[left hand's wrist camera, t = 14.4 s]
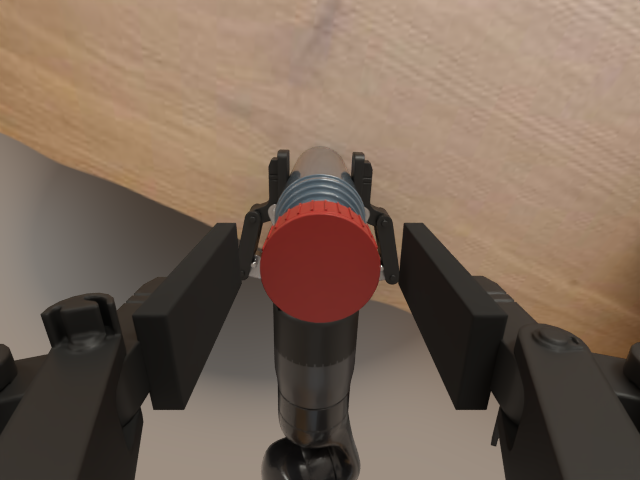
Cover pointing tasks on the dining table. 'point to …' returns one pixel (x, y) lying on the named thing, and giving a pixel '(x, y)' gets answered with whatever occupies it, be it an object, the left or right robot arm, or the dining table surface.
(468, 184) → the dining table surface
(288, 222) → the cap
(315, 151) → the bottle
